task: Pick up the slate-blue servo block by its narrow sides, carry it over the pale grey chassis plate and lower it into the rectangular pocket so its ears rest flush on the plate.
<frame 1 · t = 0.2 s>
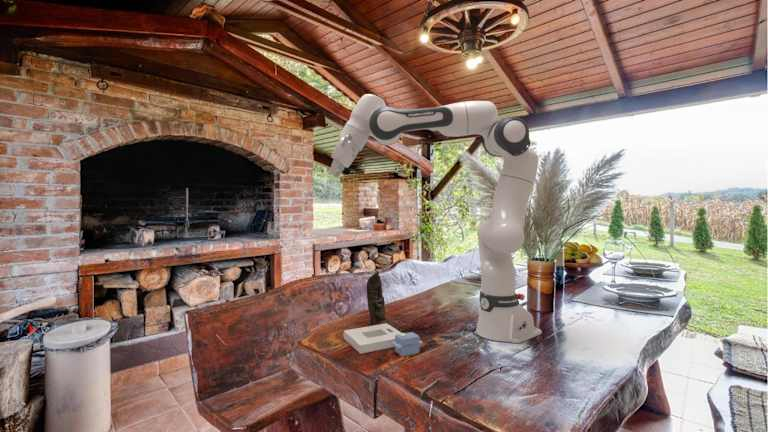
hand: (333, 175, 120), 54 cm above the table, tool tilted 30°, fingers open, 8 cm apart
chassis: (374, 341, 114), on the table
servo: (407, 352, 106), on the table
statue: (377, 325, 130), on the table
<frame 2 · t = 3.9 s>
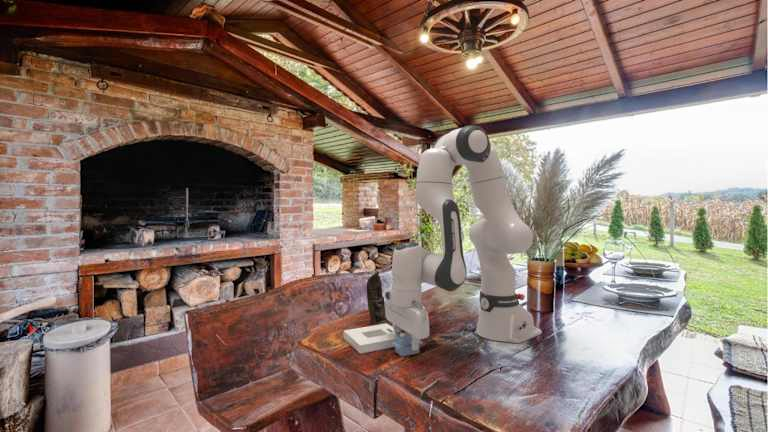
hand: (405, 343, 106), 2 cm above the table, tool pointing down, fingers open, 8 cm apart
nothing on the table moved.
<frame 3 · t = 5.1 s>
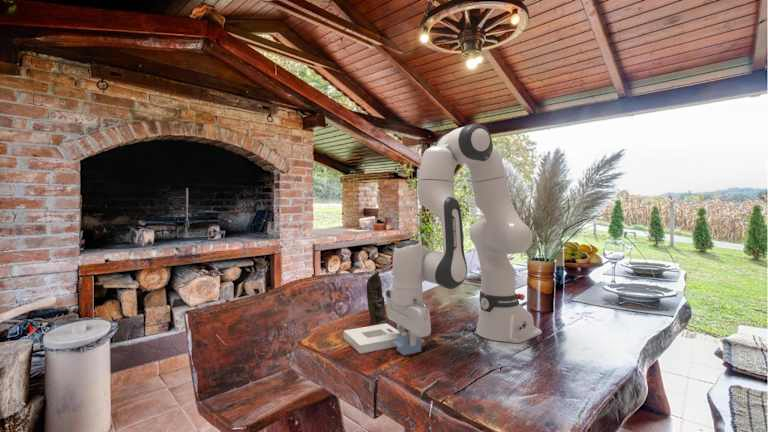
hand: (407, 341, 106), 3 cm above the table, tool pointing down, fingers closed on servo, 4 cm apart
servo: (409, 351, 106), on the table, touching gripper
everything else where it was.
when the fingers open (3 cm above the table, at t = 8.7 s): servo stays where it is, resting on chassis.
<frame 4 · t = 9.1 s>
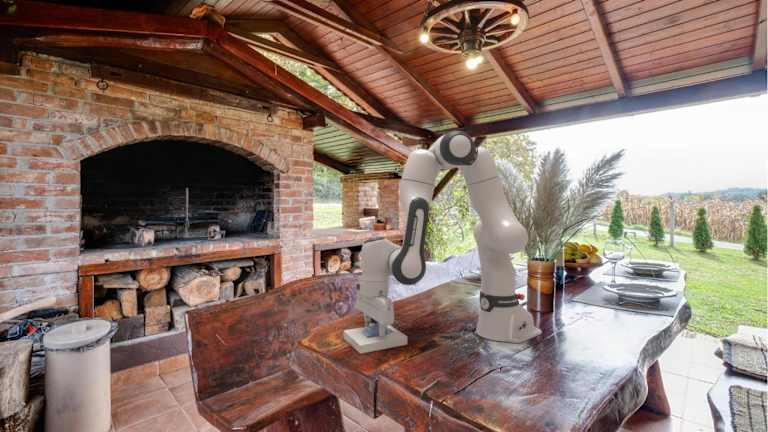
hand: (374, 330, 114), 3 cm above the table, tool pointing down, fingers open, 8 cm apart
servo: (376, 340, 114), resting on chassis
everything else where it was.
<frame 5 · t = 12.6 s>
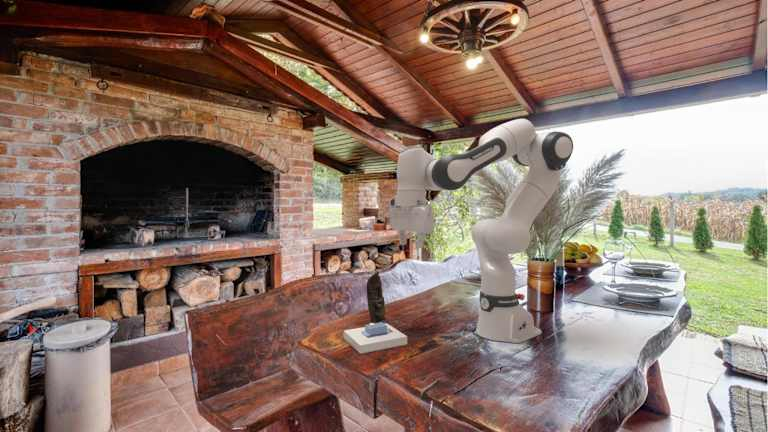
hand: (410, 246, 109), 31 cm above the table, tool pointing down, fingers open, 8 cm apart
nothing on the table moved.
at the end: servo 0.5 cm off-centre on the chassis, point 0.0 cm above the chassis's base; servo tilted 0°; the gripper is holding nothing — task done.
